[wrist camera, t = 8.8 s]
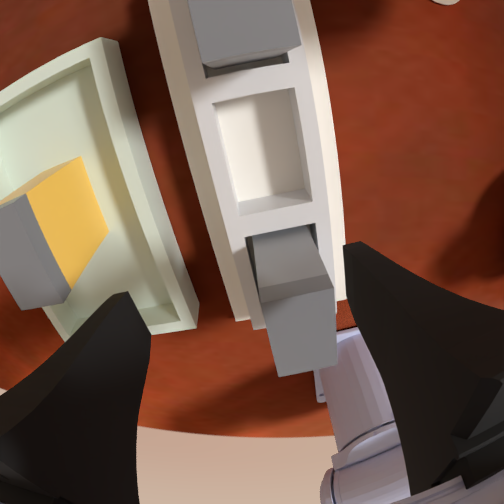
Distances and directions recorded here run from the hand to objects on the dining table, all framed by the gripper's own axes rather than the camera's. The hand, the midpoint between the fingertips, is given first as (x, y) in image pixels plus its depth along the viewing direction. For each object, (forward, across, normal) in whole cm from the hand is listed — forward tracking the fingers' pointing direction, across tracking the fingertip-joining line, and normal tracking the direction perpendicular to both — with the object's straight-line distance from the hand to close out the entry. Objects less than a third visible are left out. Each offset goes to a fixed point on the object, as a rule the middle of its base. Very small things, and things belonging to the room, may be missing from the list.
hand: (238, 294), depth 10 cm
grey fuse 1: (+9, -2, -10) cm, 13 cm away
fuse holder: (+9, -2, -3) cm, 10 cm away
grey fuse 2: (+9, -2, +4) cm, 10 cm away
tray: (+9, +10, -2) cm, 13 cm away
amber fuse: (+9, +10, -2) cm, 13 cm away
